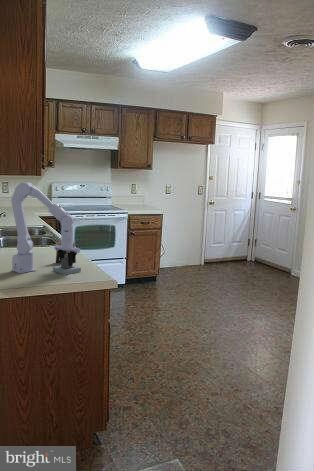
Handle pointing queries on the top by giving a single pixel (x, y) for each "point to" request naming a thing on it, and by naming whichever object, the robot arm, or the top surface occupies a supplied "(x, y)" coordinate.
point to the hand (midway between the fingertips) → (66, 265)
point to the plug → (65, 262)
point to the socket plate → (67, 270)
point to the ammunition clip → (66, 253)
